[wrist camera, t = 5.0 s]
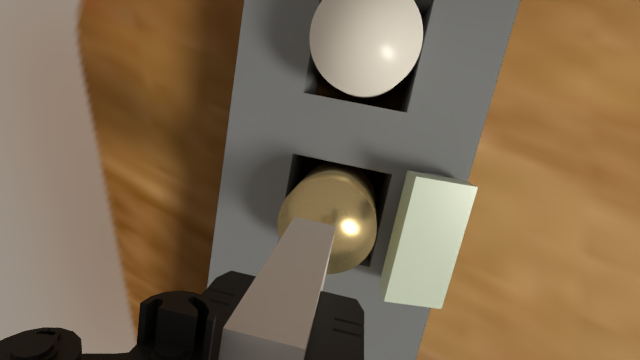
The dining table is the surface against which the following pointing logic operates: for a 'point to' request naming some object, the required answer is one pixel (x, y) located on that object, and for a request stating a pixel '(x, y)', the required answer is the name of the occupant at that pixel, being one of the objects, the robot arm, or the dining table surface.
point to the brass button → (336, 211)
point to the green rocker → (426, 239)
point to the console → (351, 139)
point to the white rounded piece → (366, 43)
